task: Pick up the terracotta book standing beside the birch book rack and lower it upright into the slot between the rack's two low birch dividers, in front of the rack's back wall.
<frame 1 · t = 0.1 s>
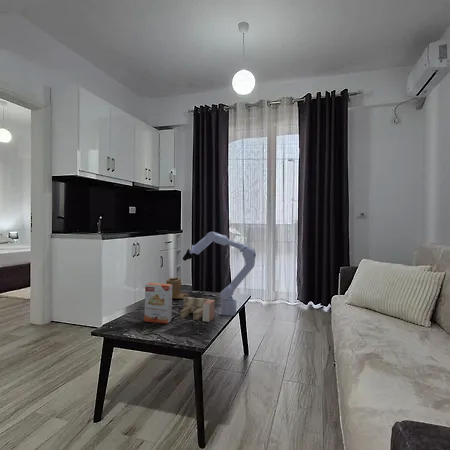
hand: (185, 259, 202), 32 cm above the table, tool tilted 50°, fingers open, 7 cm apart
book: (208, 319, 184), on the table
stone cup: (176, 298, 230), on the table
book rack: (191, 315, 189), on the table
cracker box: (157, 321, 177), on the table
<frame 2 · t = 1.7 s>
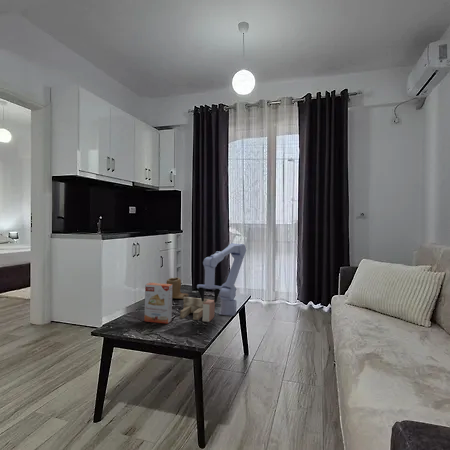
hand: (209, 301, 184), 10 cm above the table, tool pointing down, fingers open, 7 cm apart
nothing on the table moved.
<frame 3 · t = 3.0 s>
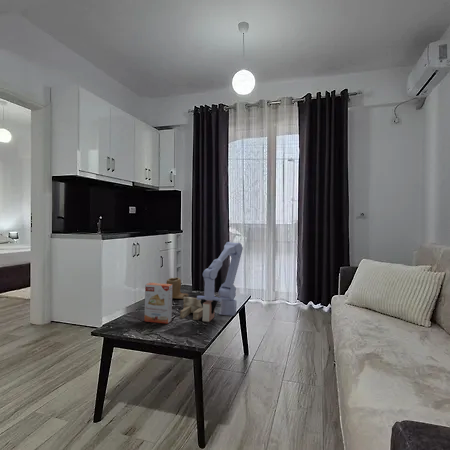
hand: (208, 313, 184), 3 cm above the table, tool pointing down, fingers closed on book, 4 cm apart
book: (208, 318, 184), on the table, touching gripper
everything else where it was.
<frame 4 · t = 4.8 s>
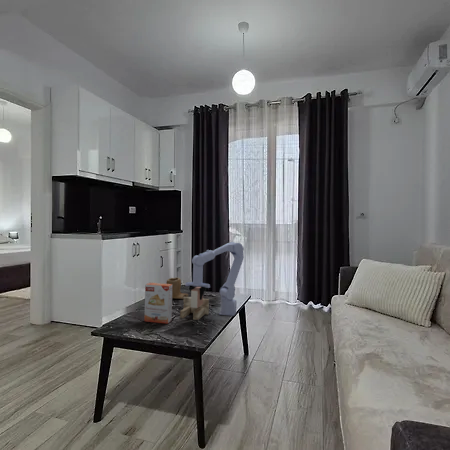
hand: (197, 299, 187), 10 cm above the table, tool pointing down, fingers closed on book, 4 cm apart
book: (196, 305, 187), point 7 cm above the table, touching gripper
everything else where it was.
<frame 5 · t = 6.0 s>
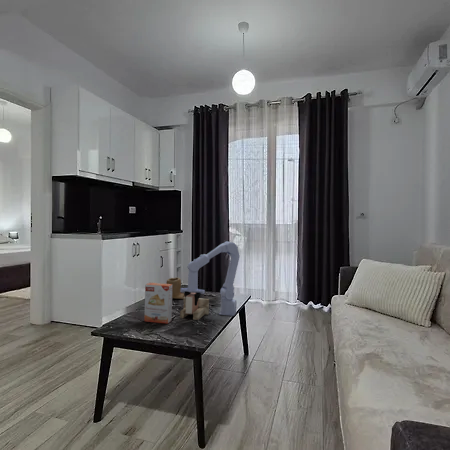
hand: (192, 304, 189), 7 cm above the table, tool pointing down, fingers closed on book, 4 cm apart
book: (191, 311, 188), point 3 cm above the table, touching gripper
everything else where it was.
when the fingers open (5 cm above the table, at t = 6.8 s): book drops 1 cm, resting in book rack.
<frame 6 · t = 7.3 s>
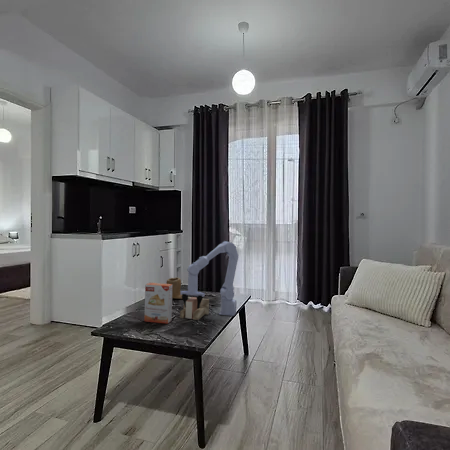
hand: (192, 307, 189), 5 cm above the table, tool pointing down, fingers open, 7 cm apart
book: (191, 316, 189), resting in book rack
everything else where it was.
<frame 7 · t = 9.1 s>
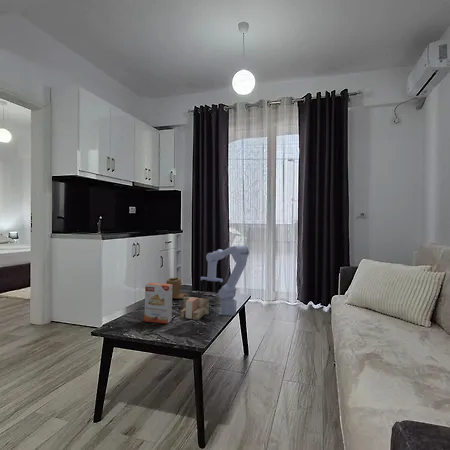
hand: (211, 292, 206), 10 cm above the table, tool pointing down, fingers open, 7 cm apart
nothing on the table moved.
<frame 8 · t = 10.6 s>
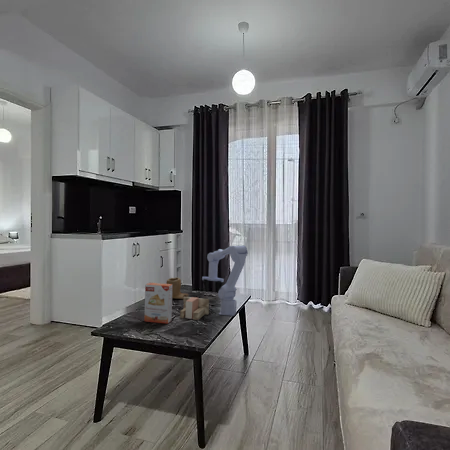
hand: (212, 291, 207), 10 cm above the table, tool pointing down, fingers open, 7 cm apart
nothing on the table moved.
at the end: book 0.1 cm off-centre on the book rack, point 0.0 cm above the book rack's base; book tilted 0°; the gripper is holding nothing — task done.
